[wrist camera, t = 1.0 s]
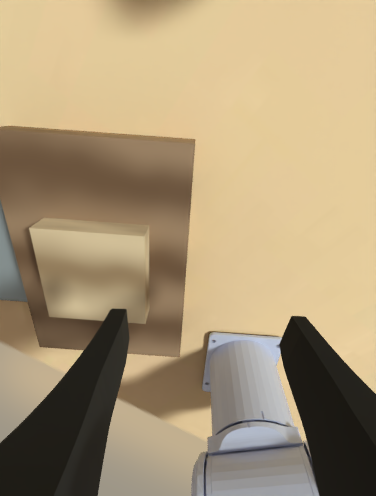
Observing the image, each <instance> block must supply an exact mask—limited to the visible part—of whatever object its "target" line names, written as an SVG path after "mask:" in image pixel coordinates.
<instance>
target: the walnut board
mask: <svg viewBox="0 0 376 496" xmlns="http://www.w3.org/2000/svg"><path fill="white" fill-rule="evenodd" d="M194 150H195V139H183V138H170V137H156V136H142V135H128V134H114V133H101V132H87V131H73V130H59V129H45V128H32V127H18V126H4V127H0V200H1V204H2V207H3V211H4V215H5V218H6V222H7V226H8V230H9V233H10V237H11V241H12V245H13V248H14V252H15V256H16V260H17V263H18V267H19V271H20V275H21V278H22V282H23V286H24V290H25V293H26V297H27V301H28V304H29V308H30V312H31V316H32V319H33V323H34V327H35V331H36V334H37V338H38V342H39V346H40V347H48V348H61V349H75V350H85V348H86V347H87V345H88V344H89V343H90V341H91V340H92V338H93V337H94V335H95V334H96V332H97V331H98V329H99V328H100V326H101V325H102V323H103V321H99V320H85V319H72V318H58V317H49V313H48V309H47V305H46V300H45V296H44V291H43V287H42V283H41V278H40V274H39V270H38V265H37V261H36V256H35V252H34V248H33V243H32V239H31V234H30V230H29V228H30V227H31V226H33V225H34V224H36V223H37V222H38V221H40V220H41V219H43V218H55V219H69V220H82V221H96V222H109V223H123V224H137V225H149V312H148V316H147V320H146V324H139V323H128V328H129V346H128V352H127V353H128V354H141V355H155V356H168V357H180V346H181V333H182V319H183V305H184V291H185V277H186V263H187V249H188V235H189V221H190V207H191V193H192V178H193V164H194Z"/></svg>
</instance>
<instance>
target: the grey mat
mask: <svg viewBox="0 0 376 496" xmlns="http://www.w3.org/2000/svg"><path fill="white" fill-rule="evenodd" d="M0 300H11V301H24V302H28V301H27V297H26V293H25V290H24V286H23V282H22V278H21V275H20V271H19V267H18V263H17V260H16V256H15V252H14V248H13V245H12V241H11V237H10V233H9V230H8V226H7V222H6V218H5V215H4V211H3V207H2V204H1V200H0Z"/></svg>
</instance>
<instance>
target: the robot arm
mask: <svg viewBox="0 0 376 496" xmlns="http://www.w3.org/2000/svg"><path fill="white" fill-rule="evenodd" d="M128 346H129V328H128V318H127V309H113V308H112V309H111V310H110V311H109V313H108V315H107V316H106V318H105V320H104V321H103V323H102V325H101V326H100V328H99V329H98V331H97V332H96V334H95V335H94V337H93V338H92V340H91V341H90V343H89V344H88V345H87V347H86V348H85V350H84V351H83V353H82V354H81V355H80V357H79V358H78V359H77V360H76V362H75V363H74V364H73V366H72V367H71V368H70V369H69V371H68V372H67V373H66V375H65V376H64V377H63V378H62V379H61V381H60V382H59V383H58V384H57V385H56V387H55V388H54V389H53V390H52V391H51V392H50V393H49V394H48V395H47V397H46V398H45V399H44V400H43V401H42V402H41V403H40V404H39V405H38V406H37V408H35V409H34V410H33V412H32V413H31V414H30V415H29V416H28V417H27V418H26V419H25V420H24V421H23V422H22V423H21V424H20V425H19V426H18V427H17V428H16V429H15V430H14V431H13V432H12V433H10V434H9V435H8V436H7V437H6V438H5V439H4V440H3V441H2V442H1V443H0V496H97V495H98V489H99V482H100V477H101V471H102V465H103V459H104V453H105V448H106V442H107V436H108V431H109V426H110V421H111V417H112V413H113V409H114V405H115V401H116V398H117V394H118V391H119V387H120V383H121V379H122V375H123V371H124V368H125V364H126V358H127V352H128ZM280 354H281V356H282V361H283V366H284V369H285V373H286V376H287V379H288V382H289V385H290V388H291V391H292V394H293V397H294V400H295V403H296V406H297V409H298V412H299V415H300V418H301V421H302V424H303V427H304V431H305V434H306V438H307V441H303V443H302V440H301V436H300V433H299V430H298V427H295V426H294V423H293V419H292V416H291V413H290V410H289V406H288V403H287V400H286V396H285V393H284V390H283V386H282V383H281V380H280V376H279V373H278V370H277V367H276V366H277V363H278V360H279V357H280ZM202 390H203V391H206V392H211V414H212V436H211V437H208V451H207V452H202V453H201V454H200V455H199V457H198V460H197V461H196V463H195V465H194V469H193V475H192V496H376V394H375V393H374V392H373V391H372V390H371V389H370V388H369V387H368V386H367V385H366V384H365V383H364V382H363V381H362V380H361V379H360V378H359V377H358V376H357V375H356V374H355V373H354V372H353V371H352V369H351V368H350V367H349V366H348V365H347V364H346V363H345V362H344V361H343V360H342V359H341V357H340V356H339V355H338V354H337V353H336V352H335V351H334V350H333V349H332V347H331V346H330V345H329V344H328V343H327V342H326V340H325V339H324V338H323V337H322V336H321V335H320V333H319V332H318V331H317V330H316V329H315V327H314V326H313V325H312V324H311V323H310V322H309V320H308V319H307V318H306V317H302V316H291V319H290V321H289V323H288V325H287V328H286V330H285V332H284V335H283V337H282V338H281V337H272V336H259V335H246V334H232V333H219V332H212V333H210V334H209V340H208V347H207V355H206V362H205V369H204V377H203V384H202ZM303 445H304V446H303Z"/></svg>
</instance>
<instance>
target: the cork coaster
mask: <svg viewBox="0 0 376 496" xmlns="http://www.w3.org/2000/svg"><path fill="white" fill-rule="evenodd" d="M29 230H30V234H31V239H32V243H33V248H34V252H35V256H36V261H37V265H38V270H39V274H40V278H41V283H42V287H43V291H44V296H45V300H46V305H47V309H48V313H49V317H58V318H72V319H85V320H99V321H104V320H105V318H106V316H107V315H108V313H109V311H110V310H111V309H112V308H113V309H127V318H128V323H139V324H146V320H147V316H148V312H149V225H137V224H123V223H109V222H96V221H82V220H69V219H55V218H43V219H41V220H40V221H38V222H37V223H36V224H34V225H33V226H31V227H30V228H29Z"/></svg>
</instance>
